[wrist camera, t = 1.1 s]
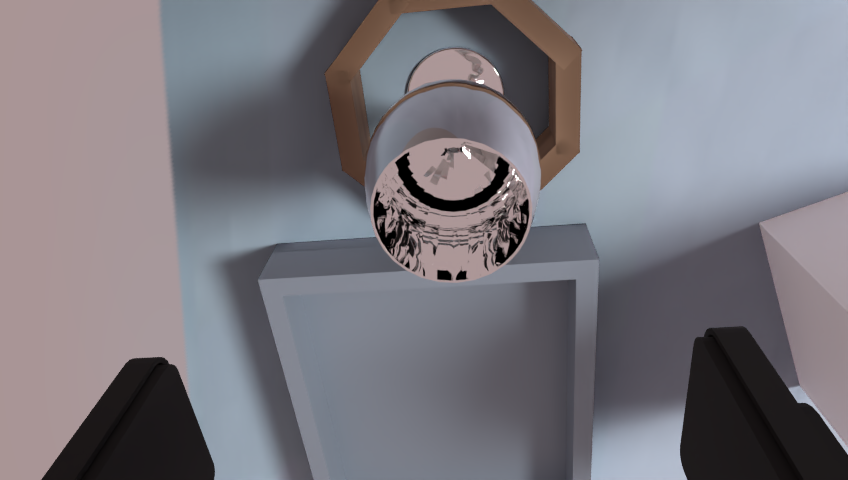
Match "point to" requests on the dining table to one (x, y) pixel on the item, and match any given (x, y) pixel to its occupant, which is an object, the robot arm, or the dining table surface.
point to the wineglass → (452, 171)
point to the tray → (439, 360)
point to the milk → (815, 299)
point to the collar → (513, 3)
